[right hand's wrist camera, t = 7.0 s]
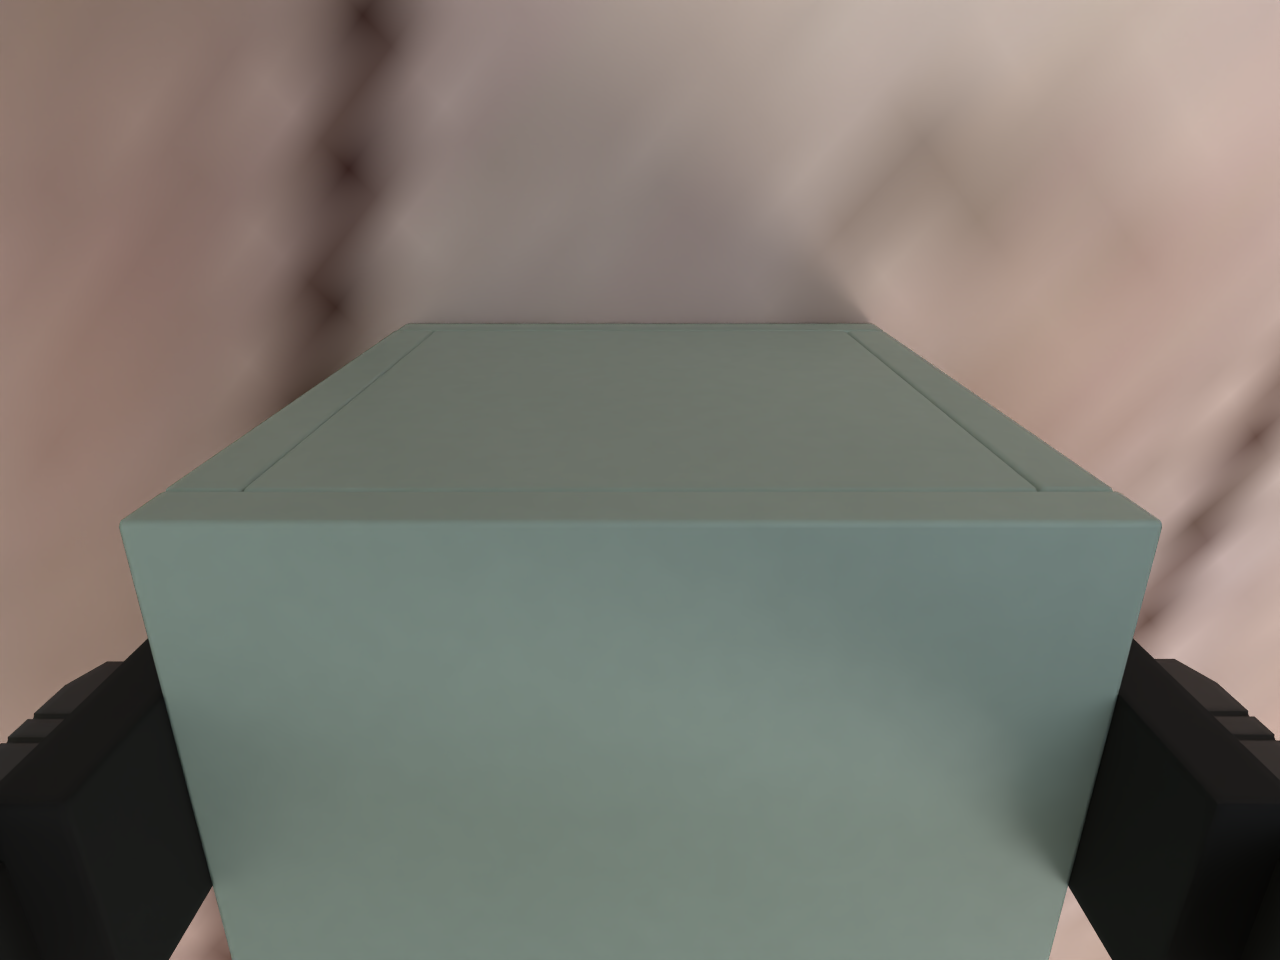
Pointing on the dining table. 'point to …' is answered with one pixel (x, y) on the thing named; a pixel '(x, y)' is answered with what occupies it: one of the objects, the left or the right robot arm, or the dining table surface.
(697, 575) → the grey-green rectangular block
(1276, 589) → the dining table surface
